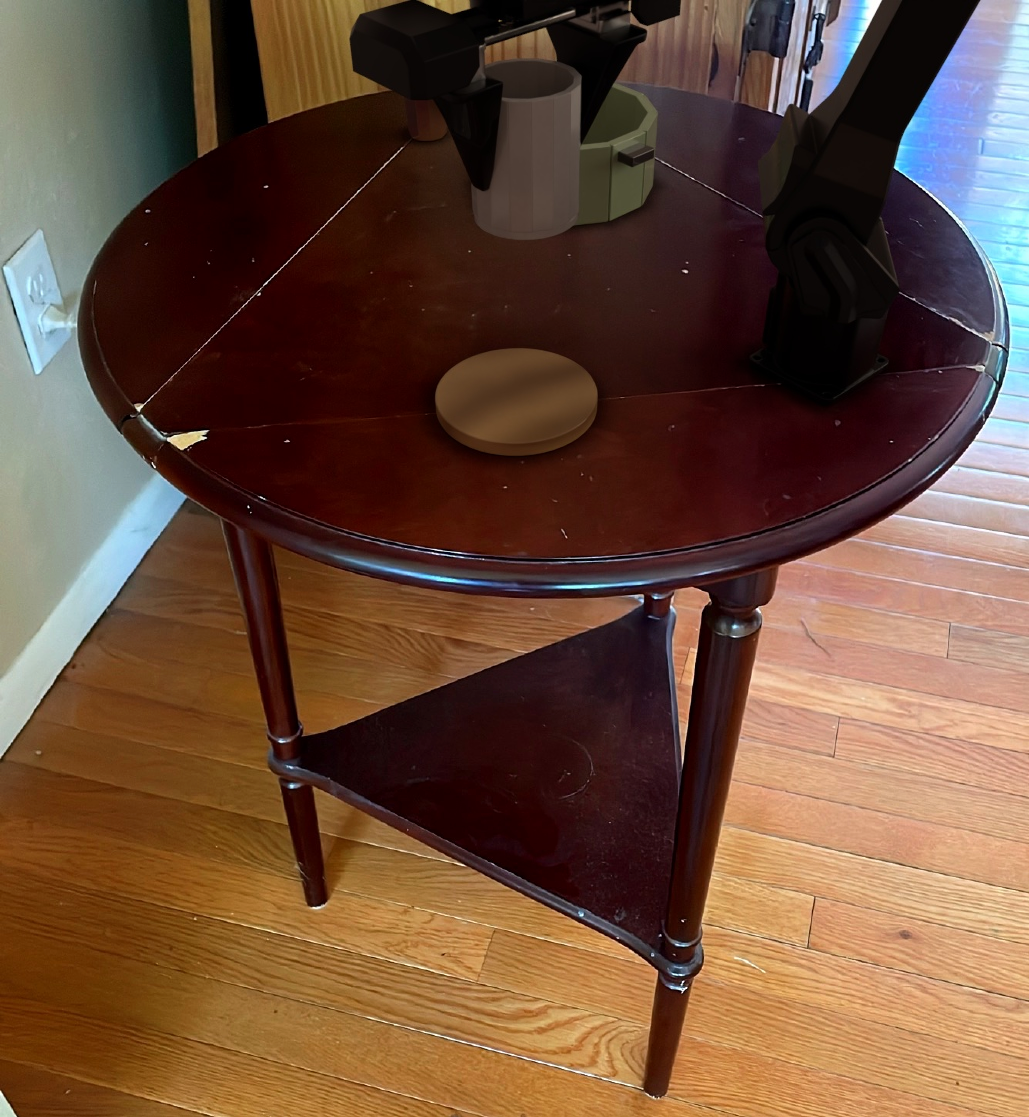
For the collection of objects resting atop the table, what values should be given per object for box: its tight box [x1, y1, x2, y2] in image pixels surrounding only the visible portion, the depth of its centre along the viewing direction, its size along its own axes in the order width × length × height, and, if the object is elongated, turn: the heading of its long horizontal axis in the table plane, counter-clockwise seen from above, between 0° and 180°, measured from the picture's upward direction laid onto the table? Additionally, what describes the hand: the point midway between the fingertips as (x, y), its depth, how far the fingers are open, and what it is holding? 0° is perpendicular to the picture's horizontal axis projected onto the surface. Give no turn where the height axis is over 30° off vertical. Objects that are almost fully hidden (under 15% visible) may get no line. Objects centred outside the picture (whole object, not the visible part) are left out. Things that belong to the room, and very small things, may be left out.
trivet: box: [434, 347, 599, 457], centre depth 69 cm, size 10×10×1 cm
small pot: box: [470, 57, 582, 241], centre depth 64 cm, size 6×6×8 cm
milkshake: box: [403, 96, 447, 142], centre depth 96 cm, size 4×5×10 cm
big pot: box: [573, 82, 659, 226], centre depth 89 cm, size 17×14×6 cm
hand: (525, 170), depth 65 cm, fingers closed on small pot, 6 cm apart
